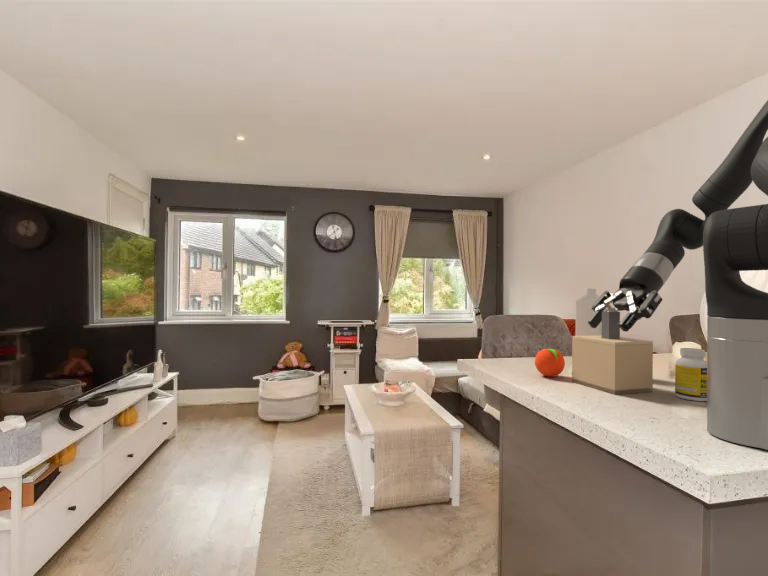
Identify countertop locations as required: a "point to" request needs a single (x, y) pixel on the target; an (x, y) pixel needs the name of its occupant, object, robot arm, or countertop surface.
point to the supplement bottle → (691, 375)
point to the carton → (613, 366)
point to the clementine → (549, 362)
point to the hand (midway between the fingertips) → (605, 327)
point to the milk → (587, 315)
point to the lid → (611, 332)
